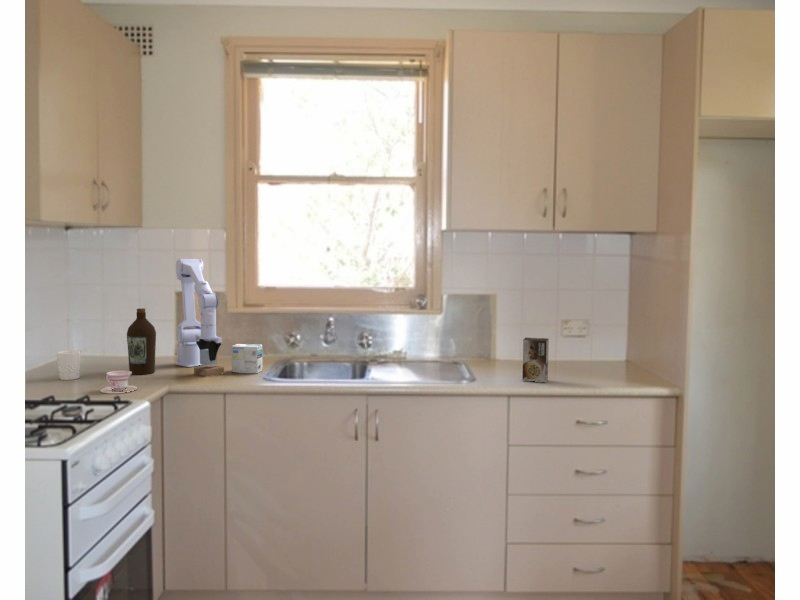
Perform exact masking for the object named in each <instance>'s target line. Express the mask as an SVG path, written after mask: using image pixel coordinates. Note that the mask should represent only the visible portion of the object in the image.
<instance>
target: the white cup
mask: <svg viewBox="0 0 800 600" xmlns="http://www.w3.org/2000/svg"><path fill="white" fill-rule="evenodd" d="M56 355H57V356H56V359H57V370H58V376H59V377H58V378H59V380H61V381H69V380H70V381H72V380H77V379H79V378H80V370H81V350H78V349H71V350H70V349H69V350H67V349H66V350H60V351H59V350H58V351H57V352H56Z"/></svg>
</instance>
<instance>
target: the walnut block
mask: <svg viewBox="0 0 800 600" xmlns="http://www.w3.org/2000/svg"><path fill="white" fill-rule="evenodd" d="M224 368H225V367H223V366H219V365H216V364H213V365H200V366H193V375H195V374H198V375H197V376H200V375H203V376H202V377H205V376H209V377H212V376H211V375H215V376H218V375H217V374H221V375H223V374H222V373H224V374H225V369H224Z"/></svg>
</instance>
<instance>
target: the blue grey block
mask: <svg viewBox="0 0 800 600" xmlns="http://www.w3.org/2000/svg"><path fill="white" fill-rule="evenodd" d="M217 357H218V356H217V355H216V359H215V360H214V361H210V358H209V351H208V349H203V350H200V364H202V365H201V366H207V365H217V364H218V362H217V361H218V359H217Z"/></svg>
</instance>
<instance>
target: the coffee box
mask: <svg viewBox="0 0 800 600" xmlns="http://www.w3.org/2000/svg"><path fill="white" fill-rule="evenodd" d="M522 380H524V381H523V382H527V381H535V382H534V383H542V382H545V384H546V383H547V382H548V381H549V338H546V337H545V338H544V337H524V338H523V339H522V379H521V381H522Z"/></svg>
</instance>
